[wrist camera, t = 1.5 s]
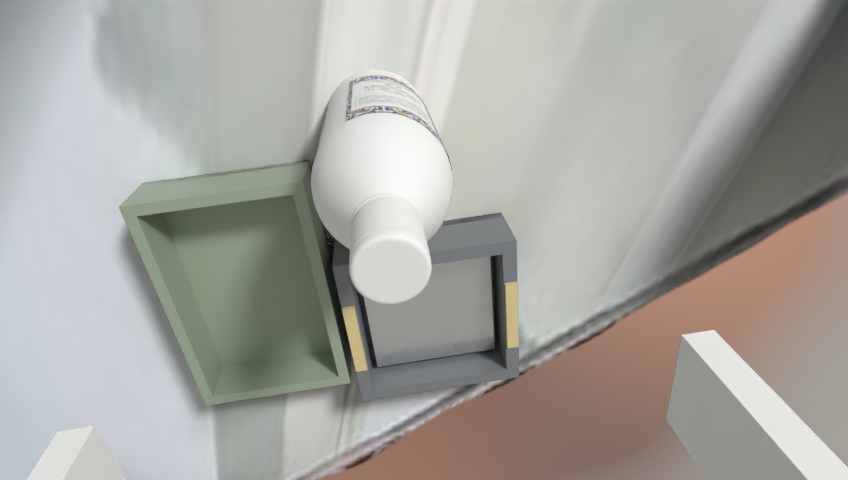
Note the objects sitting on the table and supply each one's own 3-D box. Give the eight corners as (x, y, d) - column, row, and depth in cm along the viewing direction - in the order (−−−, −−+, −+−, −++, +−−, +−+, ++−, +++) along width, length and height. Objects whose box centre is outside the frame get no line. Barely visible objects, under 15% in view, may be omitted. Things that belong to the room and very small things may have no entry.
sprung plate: (487, 242, 39) (489, 247, 38) (492, 342, 44) (494, 348, 43) (357, 260, 38) (357, 266, 38) (377, 360, 43) (377, 366, 43)
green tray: (308, 160, 36) (302, 181, 33) (351, 350, 45) (350, 383, 41) (142, 183, 36) (118, 206, 32) (218, 370, 44) (206, 405, 41)
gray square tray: (500, 212, 40) (517, 242, 35) (505, 341, 46) (520, 379, 42) (335, 236, 39) (331, 269, 35) (362, 363, 45) (362, 404, 41)
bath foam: (377, 186, 38) (390, 378, 20) (304, 119, 35) (246, 276, 17) (446, 120, 36) (527, 269, 18) (376, 45, 33) (392, 135, 15)
